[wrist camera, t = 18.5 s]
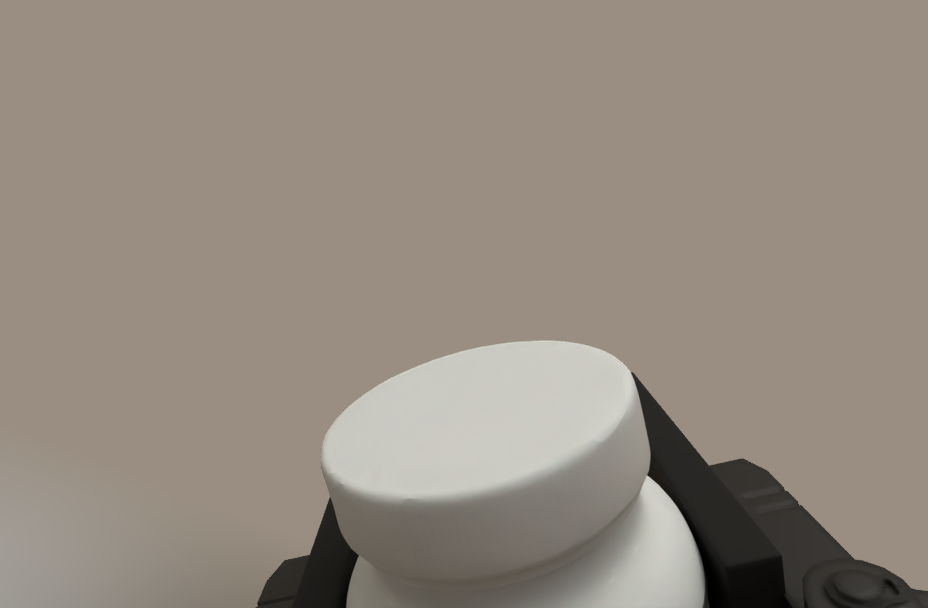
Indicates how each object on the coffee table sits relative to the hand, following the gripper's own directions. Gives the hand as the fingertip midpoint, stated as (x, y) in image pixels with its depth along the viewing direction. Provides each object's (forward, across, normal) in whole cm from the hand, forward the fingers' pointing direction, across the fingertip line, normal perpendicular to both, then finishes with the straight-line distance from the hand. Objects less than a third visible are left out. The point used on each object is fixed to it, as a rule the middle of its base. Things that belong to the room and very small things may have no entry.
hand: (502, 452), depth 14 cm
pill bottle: (-5, 0, -6) cm, 8 cm away
